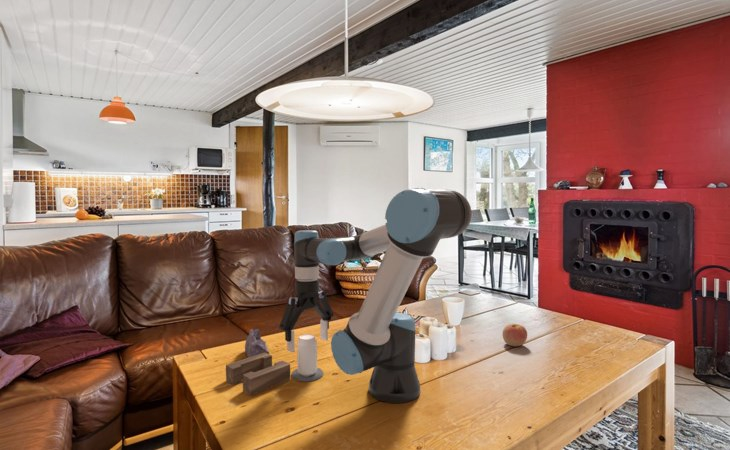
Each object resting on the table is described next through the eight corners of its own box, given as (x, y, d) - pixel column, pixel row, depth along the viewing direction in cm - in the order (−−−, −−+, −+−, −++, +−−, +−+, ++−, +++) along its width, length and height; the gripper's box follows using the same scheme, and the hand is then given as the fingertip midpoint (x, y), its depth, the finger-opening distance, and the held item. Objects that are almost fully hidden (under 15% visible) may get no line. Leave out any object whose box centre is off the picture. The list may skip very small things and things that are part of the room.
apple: (531, 347, 154) (532, 327, 153) (512, 350, 151) (513, 329, 150) (515, 339, 162) (515, 320, 161) (497, 342, 159) (497, 322, 158)
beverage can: (319, 370, 131) (319, 334, 130) (312, 378, 125) (312, 341, 124) (302, 368, 133) (302, 332, 132) (294, 376, 127) (294, 339, 126)
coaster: (329, 374, 129) (329, 372, 129) (305, 384, 122) (305, 383, 122) (309, 365, 136) (309, 363, 136) (285, 374, 129) (285, 373, 129)
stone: (268, 334, 136) (258, 321, 150) (249, 338, 134) (241, 324, 147) (270, 364, 138) (260, 348, 151) (252, 368, 135) (243, 351, 148)
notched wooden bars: (290, 379, 125) (290, 364, 125) (250, 395, 115) (250, 379, 115) (264, 366, 135) (264, 352, 134) (226, 380, 124) (225, 364, 124)
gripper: (328, 272, 138) (329, 333, 140) (266, 283, 120) (268, 353, 121) (343, 275, 133) (344, 337, 135) (281, 287, 115) (282, 359, 116)
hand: (308, 345), depth 128 cm, fingers open, 13 cm apart
